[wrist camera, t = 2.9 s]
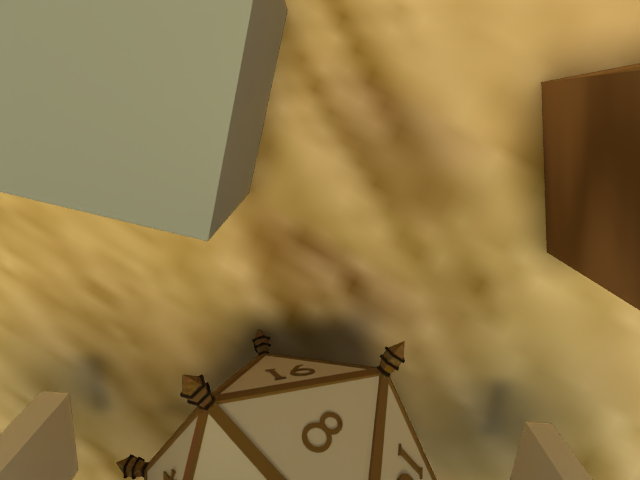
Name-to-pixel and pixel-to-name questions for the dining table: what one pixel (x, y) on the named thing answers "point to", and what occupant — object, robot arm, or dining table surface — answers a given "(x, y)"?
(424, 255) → the dining table surface
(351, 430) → the game die
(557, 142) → the walnut block
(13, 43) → the slate-blue block
